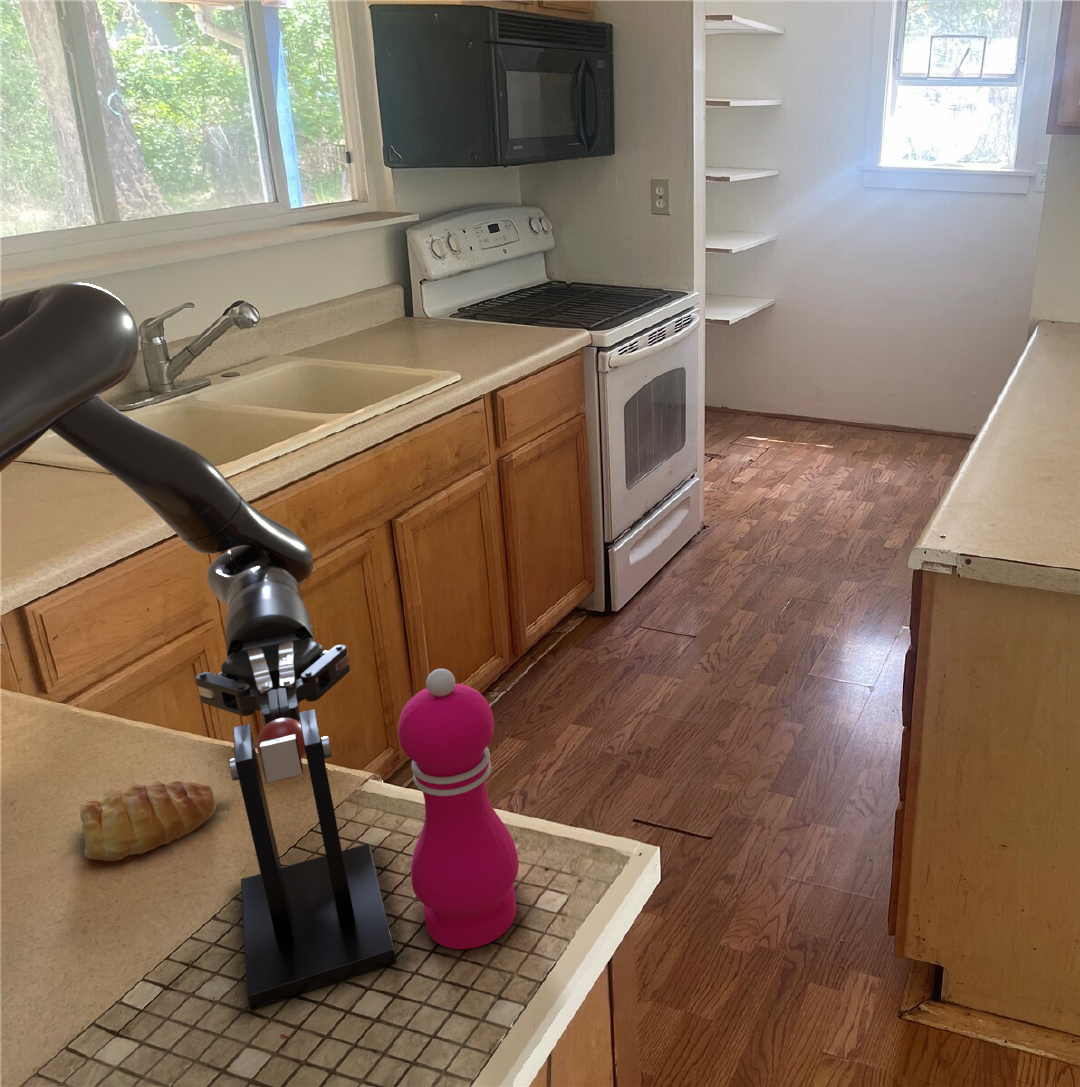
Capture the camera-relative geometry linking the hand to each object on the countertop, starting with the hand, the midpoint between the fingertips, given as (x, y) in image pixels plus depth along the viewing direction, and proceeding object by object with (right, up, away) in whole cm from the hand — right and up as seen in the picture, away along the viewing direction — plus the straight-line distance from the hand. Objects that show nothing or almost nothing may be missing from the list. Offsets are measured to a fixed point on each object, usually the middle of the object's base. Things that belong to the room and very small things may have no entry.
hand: (282, 721), depth 83 cm
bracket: (+7, -12, -11) cm, 18 cm away
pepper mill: (+18, -12, -11) cm, 24 cm away
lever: (+6, -2, -12) cm, 13 cm away
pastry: (-10, -9, -2) cm, 14 cm away
